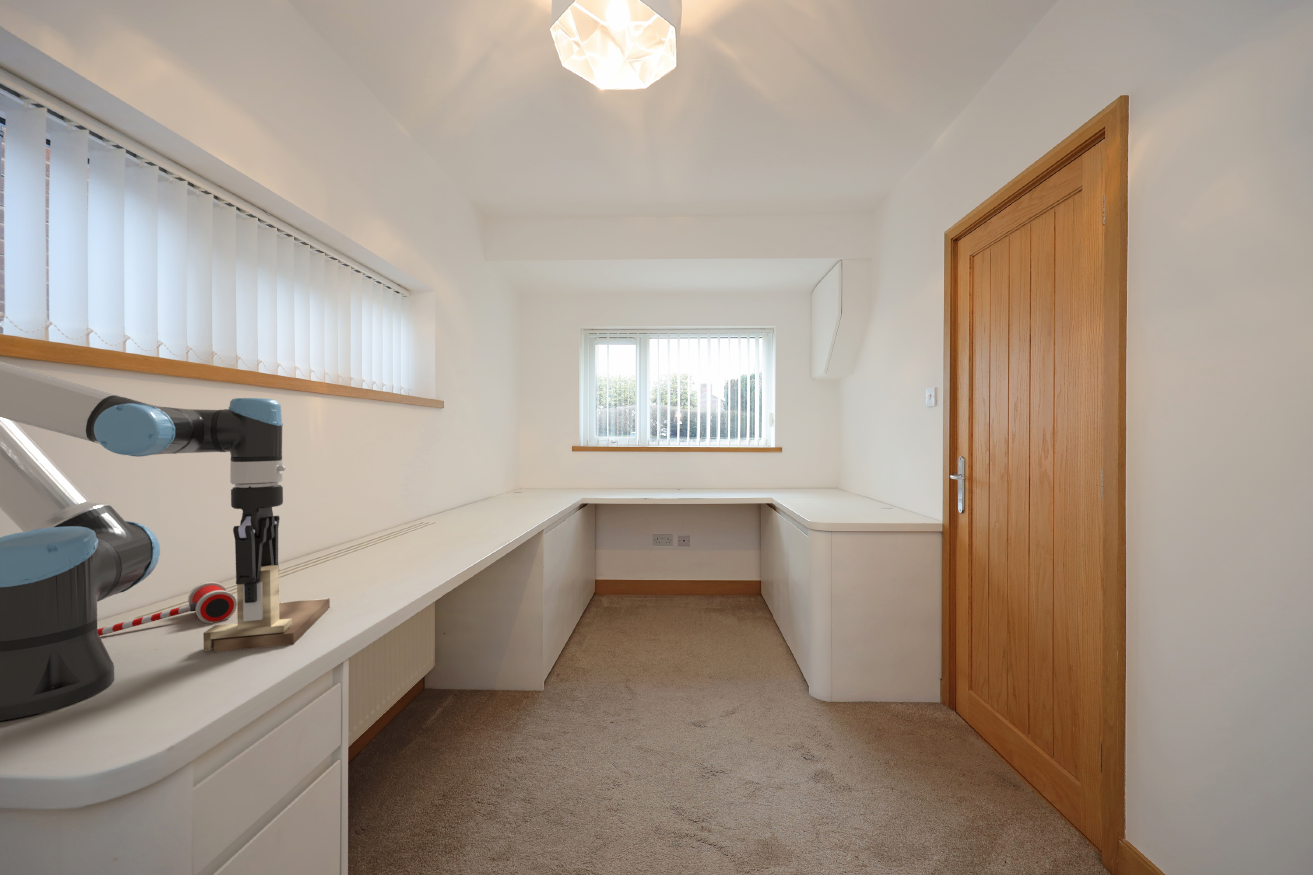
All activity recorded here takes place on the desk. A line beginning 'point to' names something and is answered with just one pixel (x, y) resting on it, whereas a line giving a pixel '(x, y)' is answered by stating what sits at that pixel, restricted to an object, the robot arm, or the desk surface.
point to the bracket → (254, 627)
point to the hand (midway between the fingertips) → (258, 615)
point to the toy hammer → (191, 607)
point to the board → (302, 620)
